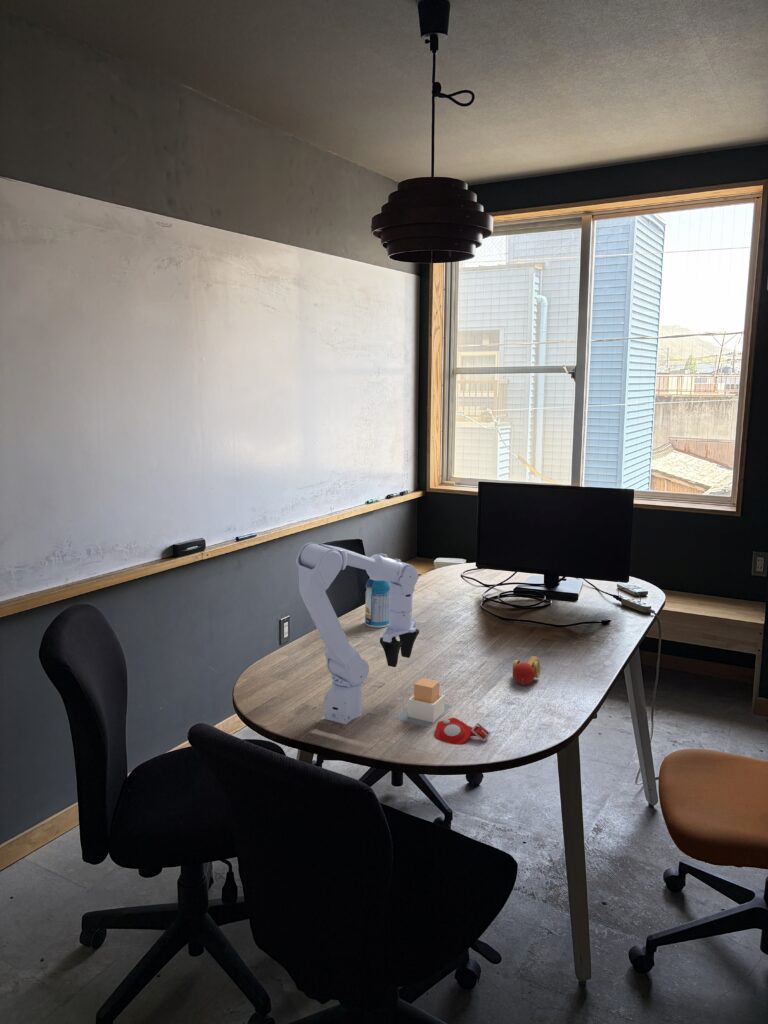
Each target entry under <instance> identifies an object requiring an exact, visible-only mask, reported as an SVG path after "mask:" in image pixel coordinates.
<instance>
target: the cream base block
mask: <svg viewBox="0 0 768 1024" xmlns="http://www.w3.org/2000/svg"><path fill="white" fill-rule="evenodd" d="M445 696H446V695H445V694H440V693H439V699H438V700H437V701H436V702H435V703H434V704H431V703H426V702H422V701H418V700H414V694H413V695H412V696H411V697H410V698H408V706H407V708H408V717H412V718H416V719H420V720H424V721H429V722H434V721H436V720H437V719H438V718H439V717H440V716H441V715H442V714H443V713H444V704H446V703H445V699H446V697H445ZM444 714H445V713H444ZM444 714H443V715H444ZM443 715H442V716H443ZM442 716H441V717H442ZM441 717H440V718H441ZM440 718H439V719H440ZM439 719H438V720H439ZM438 720H437V721H438ZM437 721H436V722H437Z"/></svg>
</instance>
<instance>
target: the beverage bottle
mask: <svg viewBox="0 0 768 1024" xmlns="http://www.w3.org/2000/svg"><path fill="white" fill-rule="evenodd" d="M368 577H369V578H368V579H367V581H366V584H365V588H366V591H365V593H364V596H365V610H364V611H365V613H364V615H365V617H364V624H365V625H366V626H368V627H370V628H380V629H381V628H387V627H388V625H389V602H390V583H389V582H386V581H383V580H379V579H376V578H372V577H370V576H369V575H368Z"/></svg>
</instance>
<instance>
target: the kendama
mask: <svg viewBox="0 0 768 1024" xmlns="http://www.w3.org/2000/svg"><path fill="white" fill-rule="evenodd" d="M540 675H541V664H540V659H539V657H537V656H534V655H532V656H530V658H528V661H527V662H525V661H523V662H521V661H520V660H519V659H515V660H513V663H512V677H513V679H514V681H515V682H516V683H518V684H520V685H521V686H526V685H529V684H531V683H532V682H533V681H534V679H535V678H536V679H537V678H540Z"/></svg>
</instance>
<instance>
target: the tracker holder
mask: <svg viewBox="0 0 768 1024" xmlns="http://www.w3.org/2000/svg"><path fill="white" fill-rule="evenodd" d="M435 727H436V728H435V731H434V736H435V739H436V740H438V741H441V742H445V743H449V744H451V745H455V746H456V745H463V744H466V743H468V742H469V740H470V739H471V737H477V738H478V739H480V741H482V742H484V743H485V742H486V741H487V739H488V738H489V737H490V736H491V732H490V731H489V730H487V729H486V728H485V727H484V726H483V725H481V724H480V723H479V722H476V724H475V725H474V726H473V727H472V726H470V725H468V724H467V723H465V722H464V721H461V720H460V719H458V718H456V717H450V718H447V719H443V720H440V721H437V724H436V726H435Z"/></svg>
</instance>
